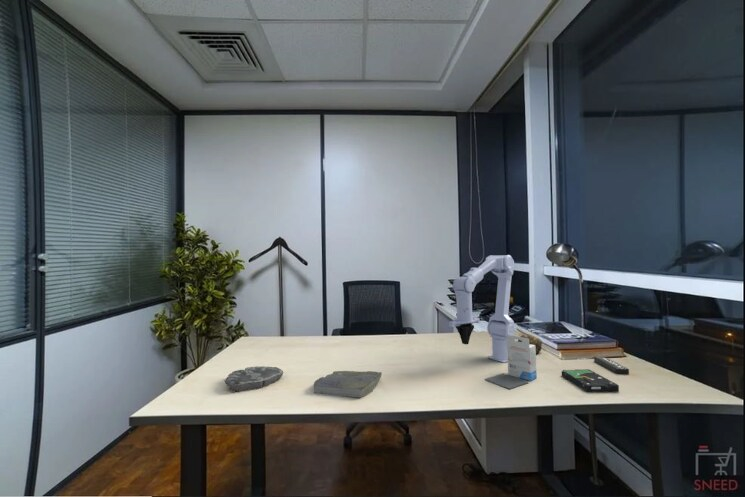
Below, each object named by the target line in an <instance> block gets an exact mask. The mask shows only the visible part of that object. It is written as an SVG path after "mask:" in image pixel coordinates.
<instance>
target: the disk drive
mask: <svg viewBox="0 0 745 497" xmlns="http://www.w3.org/2000/svg"><path fill="white" fill-rule="evenodd" d="M561 376H562V377H563V378H564V379H566V380H568V381H570V383H573V385H575V386H577V387H579V388H580V389H582V390H583V391H584V392H586V393H619V392H620V387H619V384H617V382H613V381H611V380H610V379H608V378H606V377H604V376H602V375H600V374H599V373H597V372H595V371H593V370H591V369H589V368H588V369H562V371H561Z"/></svg>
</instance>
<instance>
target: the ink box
mask: <svg viewBox="0 0 745 497" xmlns="http://www.w3.org/2000/svg"><path fill="white" fill-rule="evenodd" d="M507 337H508V343H507V349H508V362H507V373H508V374H507V375H509V376H512V377H515V378H518V379H521V380H524V381H528V382H531V381H533V380H535V379H537V373H538V372H537V353H536V345H531V344H529V338H523V337H520V336H516V335H514V336H511V335H508V336H507ZM518 339H519V340H521V341H522V342H518Z"/></svg>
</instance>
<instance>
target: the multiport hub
mask: <svg viewBox="0 0 745 497" xmlns="http://www.w3.org/2000/svg"><path fill="white" fill-rule="evenodd" d="M593 361H594V363H595V364H597V365H599V366H601V367H603V368H605V369H606V370H608V371H611V372H612V373H614V374H616V375H630V369H629V368H628V367H626V366H624V365H622V364H619V363H618V362H616V361H614V360H612V359H610V358H607V357H605V356H594V357H593Z"/></svg>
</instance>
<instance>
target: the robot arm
mask: <svg viewBox="0 0 745 497" xmlns="http://www.w3.org/2000/svg"><path fill="white" fill-rule="evenodd" d="M514 269H515V261H514V259H513V257H512V255H510V254H507V255H502V254H501V255H488V256H486V257H485V261H484V262H482V264H480V265H479V266H478V267H471V268H470V270H468V271H467V272H466V273H463V275H462V276H457V277H456V278H455V279H454V280H453V283H452V288H453V291H454V295H455V296H456V297H455V298H456V318H455V319H454V320H450V321H448V327H450V328H455V329H456V330H457V332H458V334H459V338H460V340H461V343H462V344H463V345H469V343H470V338H471V335H472V333H473V330H474V329H475V325H474V324H480V323H481V322H480V321H481V320H480V317H476V316H473V301H472V300H473V298H472V294H473V293H472V292H474V291H475V287H476V286H477V284H479V283H480V282H481V281H482V280H483V279H484V275H486V274H487V273H488V272H491V273H492V274H493V275H495V276H496V278H497V279H498V280H497V289H496V299H495V310H494V314H492V315H491V316H490V317H489V321H488V323H487V327H486V329H487V333H488V334H489V335H490V338H491V345H492V346H491V349H492V350H491V351H492V352H491V353H492V354H491V355H489V356H487V358H488V359H491V360H494V361H497V362H501V363H503V364H504V363H508V349H507V343H508V337H507V336H508V335H511V336H515V332H516V331H515V330H516V328H515V321H514V320H513V318H511V317H510V316H509V308H510V298H511V287H512V285H511V284H512V276H513V275H514V272H515V270H514Z"/></svg>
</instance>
